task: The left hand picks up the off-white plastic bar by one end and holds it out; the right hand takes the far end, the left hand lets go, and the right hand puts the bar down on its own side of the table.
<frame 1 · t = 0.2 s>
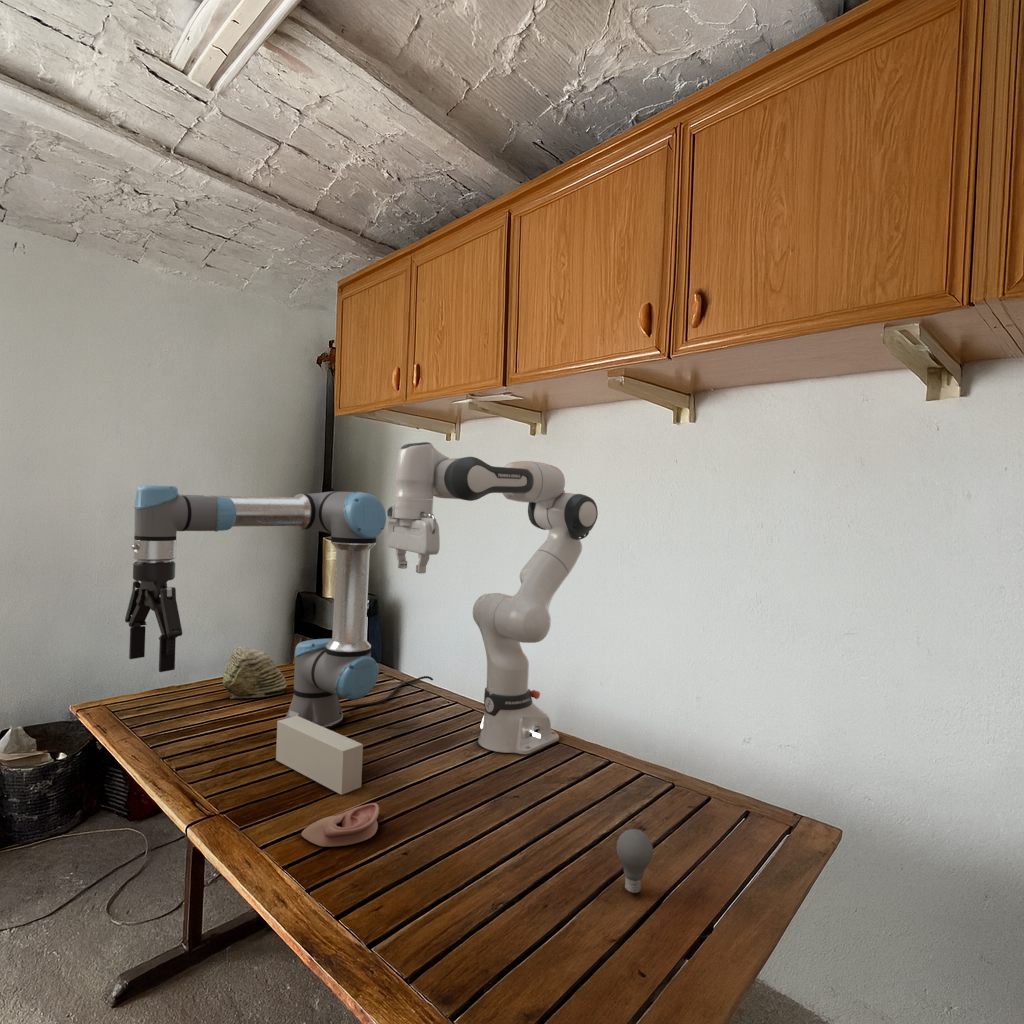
left hand: (151, 664, 130), 28 cm above the table, tool pointing down, fingers open, 13 cm apart
right hand: (411, 570, 148), 47 cm above the table, tool pointing down, fingers open, 8 cm apart
anatomical model: (340, 832, 120), on the table
fossil: (254, 694, 198), on the table
bar: (316, 773, 145), on the table
light bulb: (632, 891, 106), on the table
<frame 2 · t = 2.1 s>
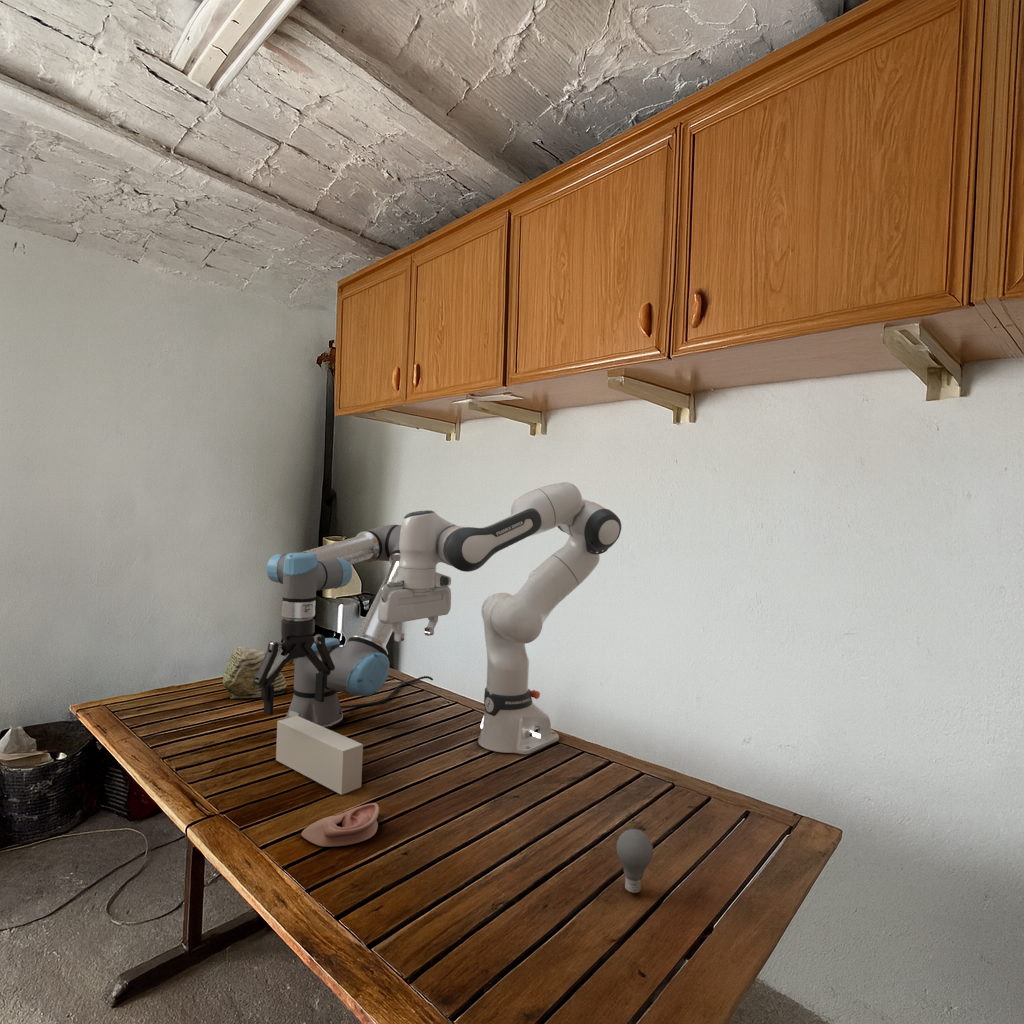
left hand: (294, 707, 151), 13 cm above the table, tool pointing down, fingers open, 13 cm apart
right hand: (414, 638, 149), 31 cm above the table, tool pointing down, fingers open, 8 cm apart
nothing on the table moved.
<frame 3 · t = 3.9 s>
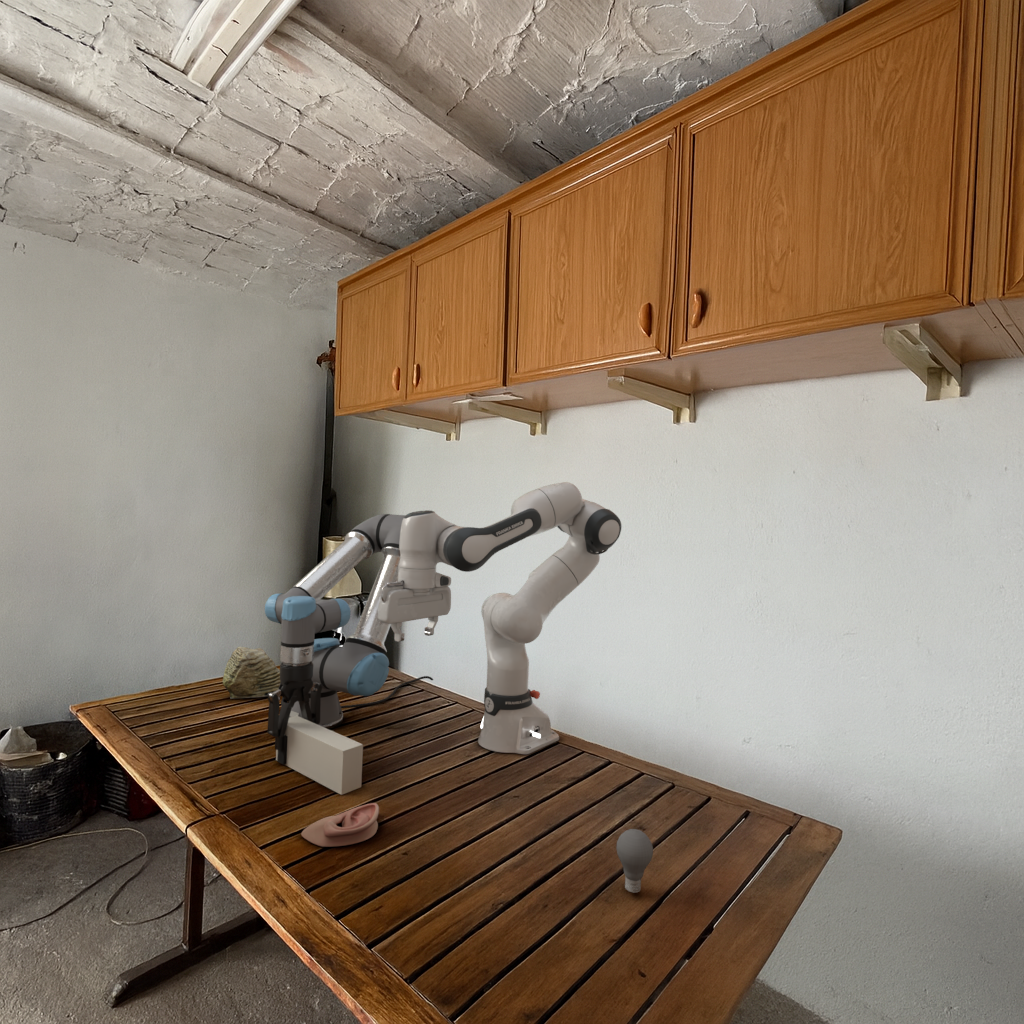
left hand: (293, 758, 151), 0 cm above the table, tool pointing down, fingers closed on bar, 5 cm apart
right hand: (414, 638, 149), 31 cm above the table, tool pointing down, fingers open, 8 cm apart
bar: (316, 773, 145), on the table, touching left hand
everything else where it was.
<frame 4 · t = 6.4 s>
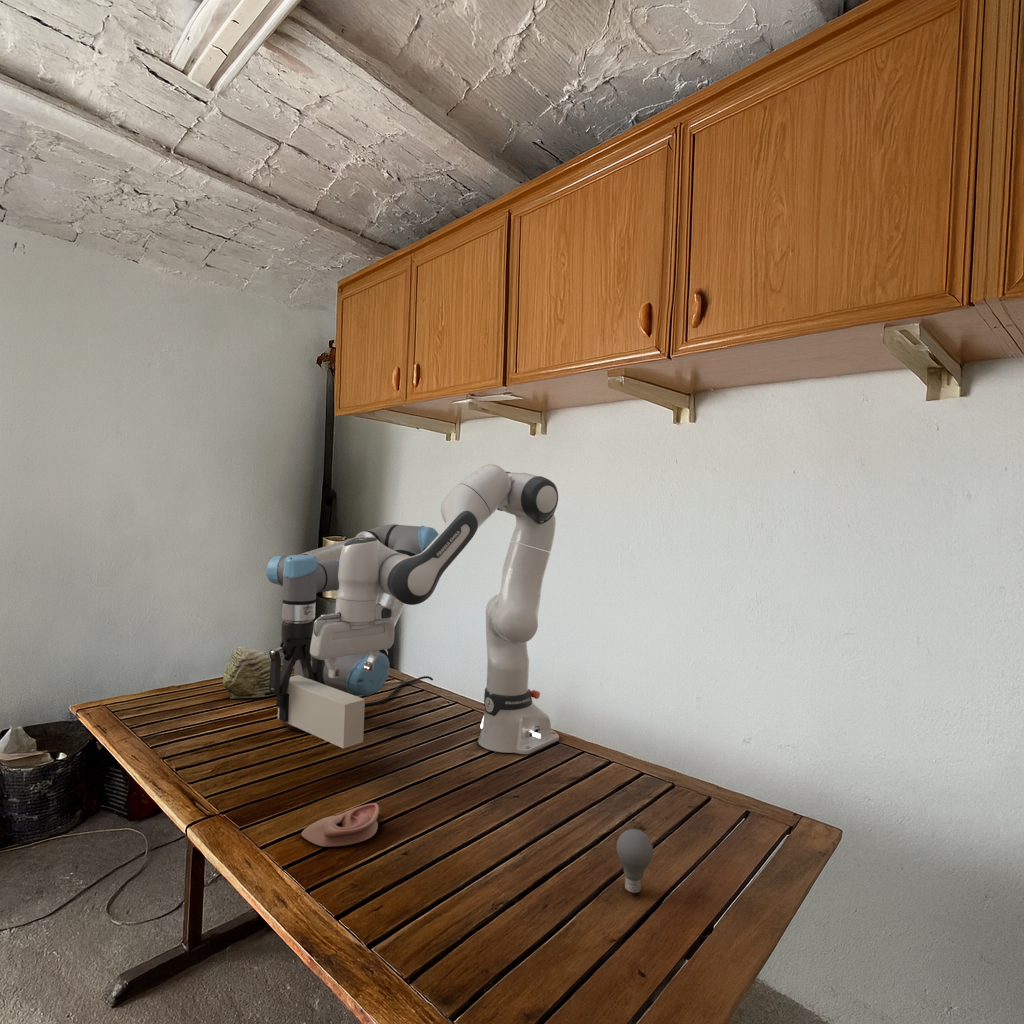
left hand: (294, 717, 151), 10 cm above the table, tool pointing down, fingers closed on bar, 5 cm apart
right hand: (351, 673, 139), 25 cm above the table, tool pointing down, fingers open, 8 cm apart
bar: (318, 729, 145), point 10 cm above the table, touching left hand
everything else where it was.
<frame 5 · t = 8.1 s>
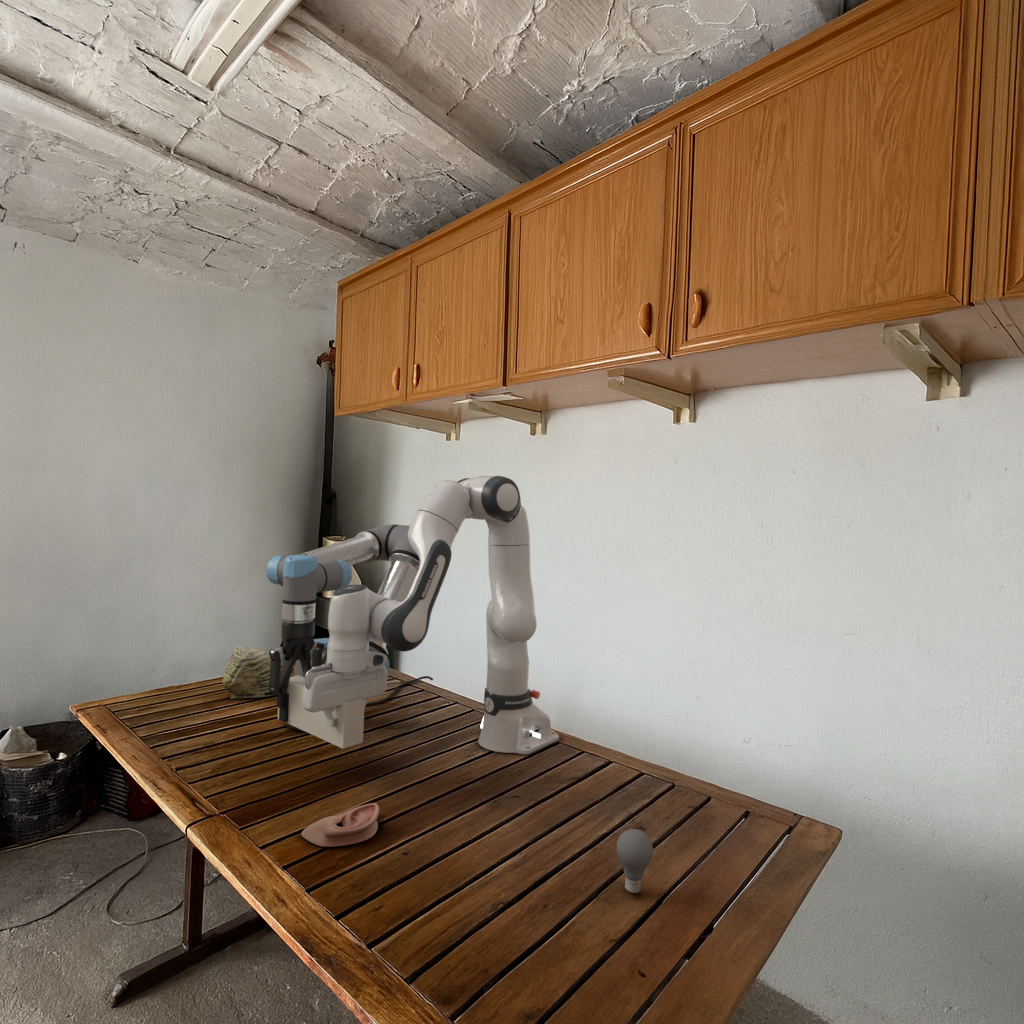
left hand: (294, 717, 151), 10 cm above the table, tool pointing down, fingers closed on bar, 5 cm apart
right hand: (345, 722, 139), 14 cm above the table, tool pointing down, fingers closed on bar, 5 cm apart
bar: (318, 730, 145), point 10 cm above the table, touching left hand, right hand
everything else where it was.
when the left hand's fingers open (10 cm above the table, at t = 9.1 s): bar stays where it is, held by the right hand.
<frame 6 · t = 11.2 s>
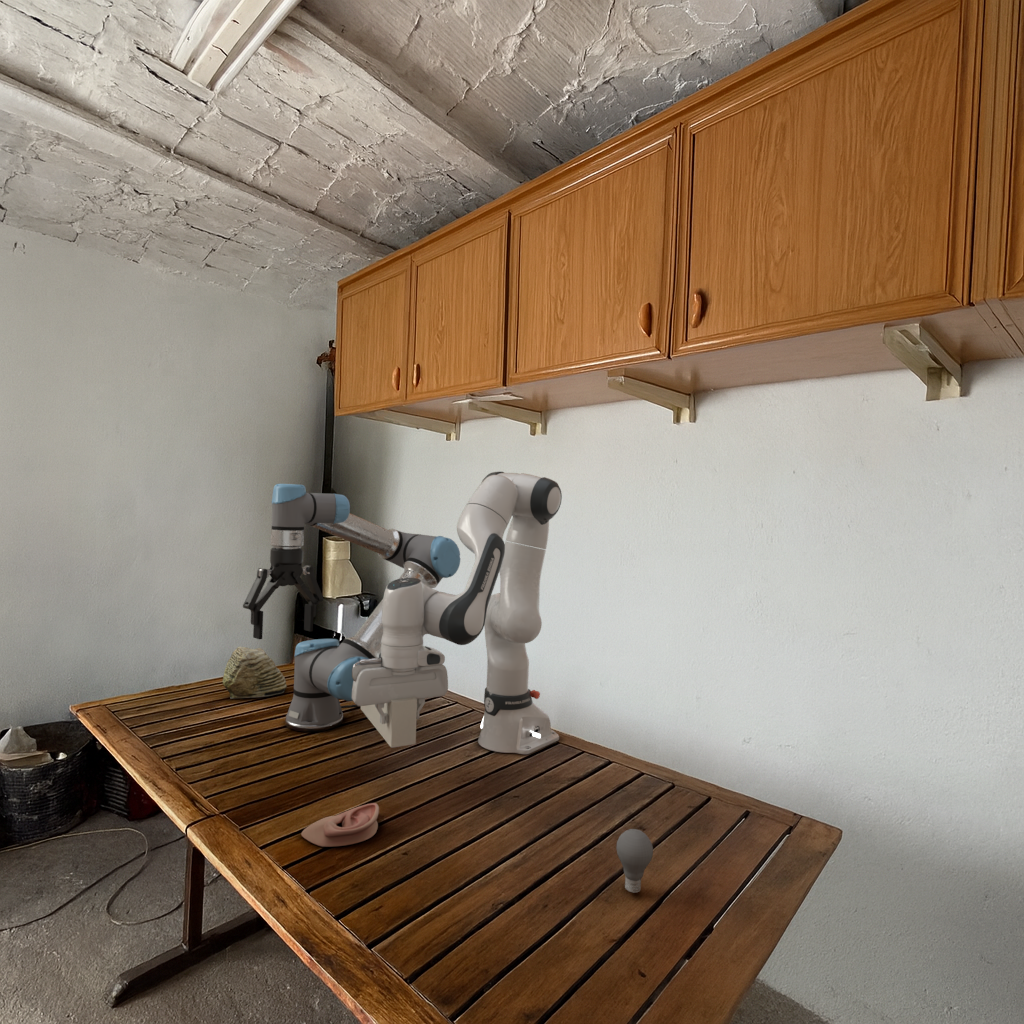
left hand: (283, 634, 154), 29 cm above the table, tool pointing down, fingers open, 13 cm apart
right hand: (399, 720, 134), 17 cm above the table, tool pointing down, fingers closed on bar, 5 cm apart
bar: (386, 725, 142), point 13 cm above the table, touching right hand
everything else where it was.
when the right hand's fingers open (6 cm above the table, at t = 14.4 s): bar drops 2 cm, on the table.
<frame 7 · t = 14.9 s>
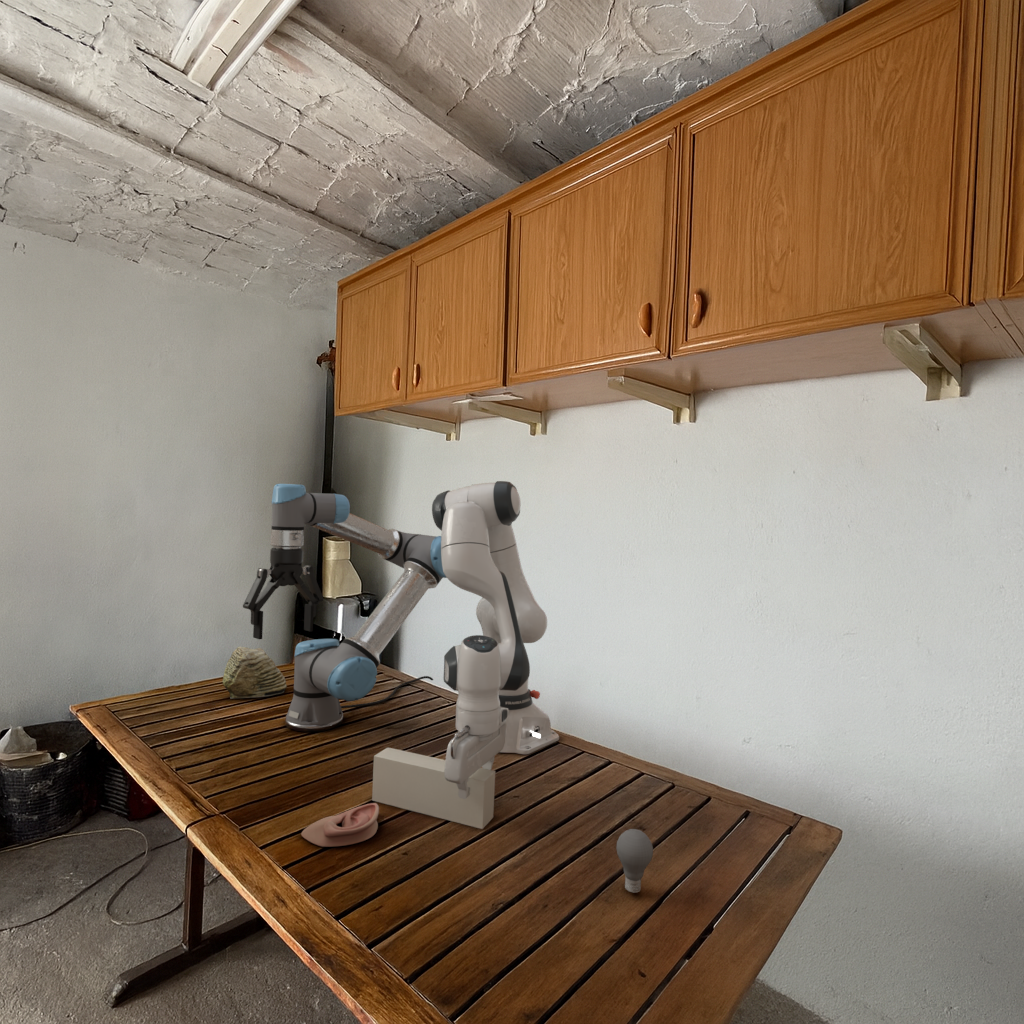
left hand: (283, 634, 154), 29 cm above the table, tool pointing down, fingers open, 13 cm apart
right hand: (475, 787, 127), 6 cm above the table, tool pointing down, fingers open, 8 cm apart
bar: (431, 808, 131), on the table
everything else where it was.
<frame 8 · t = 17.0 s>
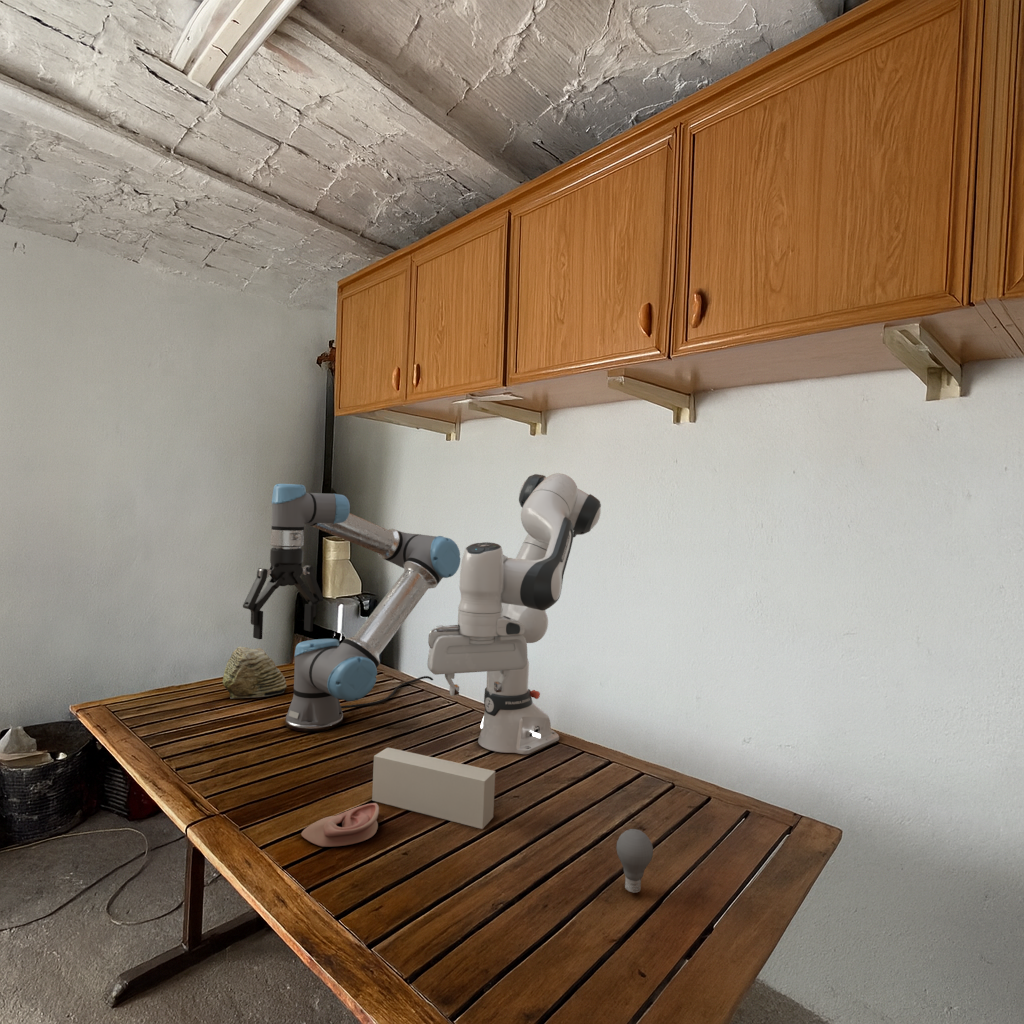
left hand: (283, 634, 154), 29 cm above the table, tool pointing down, fingers open, 13 cm apart
right hand: (476, 693, 127), 26 cm above the table, tool pointing down, fingers open, 8 cm apart
nothing on the table moved.
at the end: bar inside the target area (9.2 cm from its centre), on the table; the left hand is holding nothing; the right hand is holding nothing; bar at rest at the end (0.0 cm/s) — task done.
